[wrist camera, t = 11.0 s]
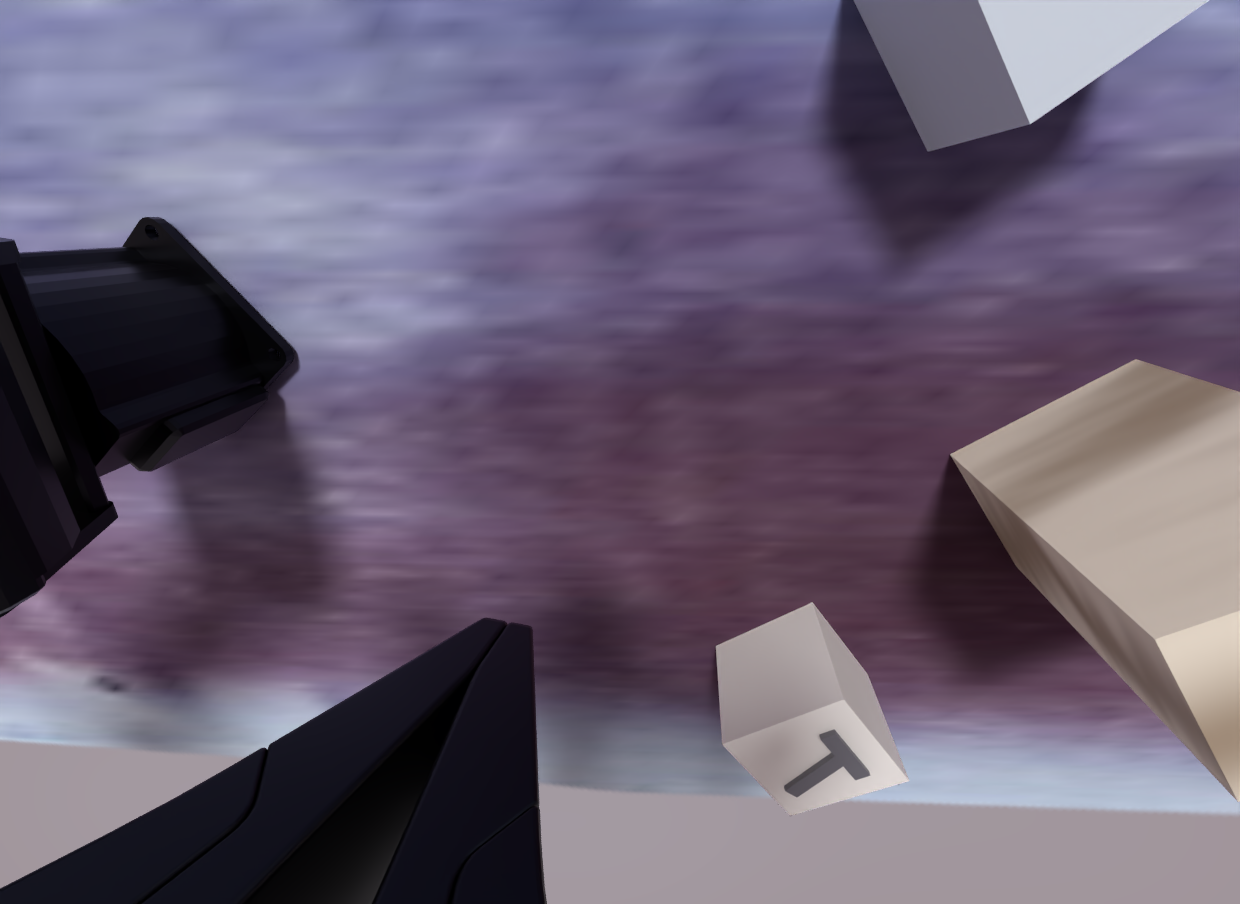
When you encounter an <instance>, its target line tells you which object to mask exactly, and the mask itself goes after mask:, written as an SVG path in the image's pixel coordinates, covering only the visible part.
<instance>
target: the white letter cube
mask: <svg viewBox="0 0 1240 904" xmlns="http://www.w3.org/2000/svg"><path fill="white" fill-rule="evenodd" d="M1208 1H1209V0H854V2H855V5H856V7H857V9H858V11H859V13H860V15H861V17H862V19H863V21H864V23H865V25H866V27H867V29H868V31H869V33H870V35H871V37H872V39H873V41H874V43H875V45H876V47H877V49H878V51H879V54H880V56H881V58H882V60H883V62H884V64H885V66H886V68H887V70H888V72H889V74H890V76H891V78H892V80H893V82H894V84H895V86H896V88H897V90H898V92H899V94H900V96H901V98H902V100H903V103H904V105H905V107H906V109H907V111H908V113H909V115H910V117H911V119H912V121H913V123H914V125H915V127H916V129H917V131H918V133H919V135H920V137H921V139H922V141H923V143H924V145H925V147H926V149H927V152H929V151H933V150H937V149H941V148H944V147H948V146H952V145H955V144H959V143H963V142H967V141H970V140H974V139H978V138H981V137H985V136H989V135H993V134H996V133H1000V132H1004V131H1007V130H1011V129H1015V128H1019V127H1022V126H1026V125H1030V124H1032V123H1033V122H1034V121H1036V120H1037V119H1039V118H1040V117H1042V116H1043V115H1045V114H1046V113H1047V112H1049V111H1050V110H1052V109H1053V108H1055V107H1056V106H1057V105H1059V104H1060V103H1062V102H1063V101H1065V100H1066V99H1068V98H1069V97H1070V96H1072V95H1073V94H1075V93H1076V92H1078V91H1079V90H1081V89H1082V88H1083V87H1085V86H1086V85H1088V84H1089V83H1091V82H1092V81H1094V80H1095V79H1096V78H1098V77H1099V76H1101V75H1102V74H1104V73H1105V72H1107V71H1108V70H1109V69H1111V68H1112V67H1114V66H1115V65H1117V64H1118V63H1120V62H1121V61H1122V60H1124V59H1125V58H1127V57H1128V56H1130V55H1131V54H1133V53H1134V52H1135V51H1137V50H1138V49H1140V48H1141V47H1143V46H1144V45H1145V44H1147V43H1148V42H1150V41H1151V40H1153V39H1154V38H1156V37H1157V36H1158V35H1160V34H1161V33H1163V32H1164V31H1166V30H1167V29H1169V28H1170V27H1171V26H1173V25H1174V24H1176V23H1177V22H1179V21H1180V20H1182V19H1183V18H1184V17H1186V16H1187V15H1189V14H1190V13H1192V12H1193V11H1195V10H1196V9H1197V8H1199V7H1200V6H1202V5H1203V4H1205V3H1206V2H1208Z"/></svg>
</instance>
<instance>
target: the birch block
mask: <svg viewBox="0 0 1240 904" xmlns="http://www.w3.org/2000/svg"><path fill="white" fill-rule="evenodd" d="M950 455H951V457H952V459H953V461H954V462H955V464H956V466H957V467H958V469H959V471H960V472H961V474H962V476H963V477H964V479H965V481H966V483H967V484H968V486H969V488H970V489H971V491H972V493H973V494H974V496H975V498H976V499H977V501H978V503H979V504H980V506H981V508H982V510H983V511H984V513H985V515H986V516H987V518H988V520H989V521H990V523H991V525H992V526H993V528H994V530H995V532H996V533H997V535H998V537H999V538H1000V540H1001V542H1002V543H1003V545H1004V547H1005V548H1006V550H1007V552H1008V554H1009V555H1010V557H1011V559H1012V560H1013V562H1014V564H1015V565H1016V567H1017V568H1018V569H1019V570H1020V571H1021V572H1022V573H1023V574H1024V575H1025V576H1026V577H1027V578H1028V579H1029V581H1030V582H1031V583H1032V584H1033V585H1034V586H1035V587H1036V588H1037V589H1038V590H1039V591H1040V592H1041V593H1042V594H1043V595H1044V596H1045V597H1046V599H1047V600H1048V601H1049V602H1050V603H1051V604H1052V605H1053V606H1054V607H1055V608H1056V609H1057V610H1058V611H1059V612H1060V613H1061V614H1062V616H1063V617H1064V618H1065V619H1066V620H1067V621H1068V622H1069V623H1070V624H1071V625H1072V626H1073V627H1074V628H1075V629H1076V630H1077V631H1078V632H1079V634H1080V635H1081V636H1082V637H1083V638H1084V639H1085V640H1086V641H1087V642H1088V643H1089V644H1090V645H1091V646H1092V647H1093V648H1094V649H1095V651H1096V652H1097V653H1098V654H1099V655H1100V656H1101V657H1102V658H1103V659H1104V660H1105V661H1106V662H1107V663H1108V664H1109V665H1110V666H1111V667H1112V669H1113V670H1114V671H1115V672H1116V673H1117V674H1118V675H1119V676H1120V677H1121V678H1122V679H1123V680H1124V681H1125V682H1126V683H1127V684H1128V686H1129V687H1130V688H1131V689H1132V690H1133V691H1134V692H1135V693H1136V694H1137V695H1138V696H1139V697H1140V698H1141V699H1142V700H1143V701H1144V702H1145V704H1146V705H1147V706H1148V707H1149V708H1150V709H1151V710H1152V711H1153V712H1154V713H1155V714H1156V715H1157V716H1158V717H1159V718H1160V719H1161V721H1162V722H1163V723H1164V724H1165V725H1166V726H1167V727H1168V728H1169V729H1170V730H1171V731H1172V732H1173V733H1174V734H1175V735H1176V736H1177V737H1178V739H1179V740H1180V741H1181V742H1182V743H1183V744H1184V745H1185V746H1186V747H1187V748H1188V749H1189V750H1190V751H1191V752H1192V753H1193V754H1194V756H1195V757H1196V758H1197V759H1198V760H1199V761H1200V762H1201V763H1202V764H1203V765H1204V766H1205V767H1206V768H1207V769H1208V770H1209V771H1210V772H1211V774H1212V775H1213V776H1214V777H1215V778H1216V779H1217V780H1218V781H1219V782H1220V783H1221V784H1222V785H1223V786H1224V787H1225V788H1226V789H1227V791H1228V792H1229V793H1230V794H1231V795H1232V796H1233V797H1234V798H1235V799H1236V800H1237V801H1238V802H1239V801H1240V392H1238V391H1234V390H1231V389H1228V388H1225V387H1222V386H1219V385H1216V384H1212V383H1209V382H1206V381H1203V380H1200V379H1197V378H1193V377H1190V376H1187V375H1184V374H1181V373H1178V372H1174V371H1171V370H1168V369H1165V368H1162V367H1159V366H1155V365H1152V364H1149V363H1146V362H1143V361H1140V360H1136V359H1135V360H1133V361H1131V362H1130V363H1128V364H1126V365H1124V366H1122V367H1120V368H1118V369H1116V370H1114V371H1112V372H1110V373H1108V374H1106V375H1104V376H1102V377H1100V378H1098V379H1096V380H1094V381H1092V382H1090V383H1089V384H1087V385H1085V386H1083V387H1081V388H1079V389H1077V390H1075V391H1073V392H1071V393H1069V394H1067V395H1065V396H1063V397H1061V398H1059V399H1057V400H1055V401H1053V402H1051V403H1049V404H1048V405H1046V406H1044V407H1042V408H1040V409H1038V410H1036V411H1034V412H1032V413H1030V414H1028V415H1026V416H1024V417H1022V418H1020V419H1018V420H1016V421H1014V422H1012V423H1010V424H1009V425H1007V426H1005V427H1003V428H1001V429H999V430H997V431H995V432H993V433H991V434H989V435H987V436H985V437H983V438H981V439H979V440H977V441H975V442H973V443H971V444H969V445H968V446H966V447H964V448H962V449H960V450H958V451H956V452H954V453H952V454H950Z"/></svg>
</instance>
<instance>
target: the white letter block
mask: <svg viewBox="0 0 1240 904" xmlns="http://www.w3.org/2000/svg"><path fill="white" fill-rule="evenodd" d="M716 658H717V673H718V689H719V704H720V719H721V735H722V745H723V746H724V747H725V748H726V749H727V750H728V751H729V752H730V753H731V754H732V755H733V756H734V758H735V759H736V760H737V761H738V762H739V763H740V764H741V765H742V766H743V767H744V768H745V769H746V770H747V771H748V772H749V773H750V774H751V775H752V777H753V778H754V779H755V780H756V781H757V782H758V783H759V784H760V785H761V786H762V787H763V788H764V789H765V790H766V791H767V792H768V793H769V795H770V796H771V797H772V798H773V799H774V800H775V801H776V802H777V803H778V804H779V805H780V806H781V807H782V808H783V809H784V810H785V811H786V812H787V814H788V815H789V816H792V815H796V814H799V813H802V812H806V811H809V810H813V809H816V808H819V807H822V806H826V805H829V804H833V803H836V802H840V801H843V800H846V799H850V798H853V797H857V796H860V795H863V794H867V793H870V792H874V791H877V790H880V789H884V788H887V787H891V786H894V785H897V784H901V783H904V782H907V781H909V779H908V776H907V774H906V771H905V768H904V766H903V763H902V761H901V758H900V756H899V753H898V751H897V748H896V746H895V743H894V740H893V738H892V735H891V733H890V730H889V728H888V725H887V723H886V720H885V718H884V715H883V712H882V710H881V707H880V705H879V702H878V700H877V697H876V695H875V692H874V690H873V687H872V684H871V682H870V679H869V677H868V674H867V673H866V672H865V670H864V669H863V668H862V666H861V665H860V664H859V662H858V661H857V660H856V658H855V657H854V656H853V655H852V653H851V652H850V651H849V649H848V648H847V647H846V645H845V644H844V643H843V642H842V640H841V639H840V638H839V636H838V635H837V634H836V632H835V631H834V630H833V628H832V627H831V626H830V625H829V623H828V622H827V621H826V619H825V618H824V617H823V615H822V614H821V613H820V612H819V610H818V609H817V608H816V606H815V605H814V604H813V602H812V603H810V604H808V605H806V606H803V607H801V608H799V609H797V610H795V611H792V612H790V613H788V614H786V615H783V616H781V617H779V618H777V619H775V620H772V621H770V622H768V623H766V624H764V625H761V626H759V627H757V628H755V629H752V630H750V631H748V632H746V633H744V634H741V635H739V636H737V637H735V638H733V639H730V640H728V641H726V642H724V643H721V644H719V645H717V646H716Z"/></svg>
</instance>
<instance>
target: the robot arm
mask: <svg viewBox="0 0 1240 904" xmlns="http://www.w3.org/2000/svg"><path fill="white" fill-rule="evenodd" d="M155 229H156V230H157V231H158V234H159V236H158V235H157V234H156V230H155ZM275 349H276V350H277V351H278V352H279V354H280V357H281V358H280V357H278V356H277V354H276V351H275ZM293 359H294V354H293V351H292V349H291V347H290V346H289V345H288V344H287V343H286V342H285V341H284V340H283V339H282V338H281V337H280V336H279V335H278V334H277V333H276V332H275V331H274V330H273V329H272V328H271V327H270V325H269V324H268V323H267V322H266V321H265V320H264V319H263V318H262V317H261V316H260V315H259V314H258V313H257V312H256V311H255V310H254V309H253V308H252V307H251V306H250V305H249V304H248V303H247V302H246V301H245V300H244V299H243V298H242V297H241V296H240V295H239V294H238V293H237V292H236V291H235V290H234V289H233V288H232V287H231V286H230V285H229V284H228V283H227V282H226V281H225V280H224V279H223V278H222V277H221V276H220V275H219V274H218V273H217V272H216V271H215V270H214V269H213V268H212V267H211V266H210V264H209V263H208V262H207V261H206V260H205V259H204V258H203V257H202V256H201V255H200V254H199V253H198V252H197V251H196V250H195V249H194V248H193V247H192V246H191V245H190V244H189V243H188V242H187V241H186V240H185V239H184V238H183V237H182V236H181V235H180V234H179V233H178V232H177V231H176V230H175V229H174V228H173V227H172V226H171V225H170V224H169V223H168V222H167V221H165V220H164V219H162V218H159V217H145V218H142V219H141V220H140V221H139V222H138V224H137V225H136V227H135V228H134V230H133V231H132V233H131V234H130V236H129V237H128V239H127V240H126V242H125V243H124V245H123V247H117V248H98V249H79V250H60V251H41V252H22V253H19V251H18V249H17V246H16V243H15V241H14V240H12V239H6V238H0V617H2V616H4V615H6V614H7V613H8V612H10V611H11V610H12V609H14V608H15V607H16V606H18V605H19V604H20V603H22V602H24V601H25V600H27V599H29V598H30V597H32V596H34V595H35V594H36V593H38V592H39V591H40V590H41V589H42V588H43V587H44V586H45V584H46V581H47V580H48V579H49V578H50V577H51V576H52V575H54V574H55V573H56V572H57V571H58V570H59V569H60V568H62V567H63V566H64V565H65V564H66V563H67V562H68V561H69V560H71V559H72V558H73V557H74V556H75V555H76V554H77V553H79V552H80V551H81V550H82V549H83V548H84V547H85V546H86V545H88V544H89V543H90V542H91V541H92V540H93V539H94V538H95V537H97V536H98V535H99V534H100V533H101V532H102V531H103V530H105V529H106V528H107V527H108V526H109V525H110V524H111V523H112V522H114V521H115V520H116V519H117V518H118V515H117V512H116V509H115V507H114V504H113V502H111V501H108V499H107V496H106V493H105V491H104V488H103V485H102V483H101V480H100V478H99V477H100V476H102V475H105V474H107V473H109V472H111V471H114V470H116V469H118V468H121V467H123V466H125V465H127V464H131V465H133V466H134V467H135V468H136V469H137V470H138V471H150V472H151V471H153V470H155V469H157V468H159V467H162V466H164V465H166V464H168V463H170V462H172V461H174V460H176V459H178V458H181V457H183V456H185V455H187V454H189V453H191V452H193V451H195V450H198V449H200V448H202V447H204V446H206V445H208V444H210V443H212V442H214V441H217V440H219V439H221V438H223V437H225V436H227V435H229V434H231V433H233V432H236V431H237V430H239V429H240V428H241V427H242V426H243V425H244V423H245V422H246V421H247V420H248V419H249V418H250V417H251V416H252V415H253V414H254V413H255V412H256V411H257V410H258V409H259V408H260V407H261V406H262V405H263V404H264V403H265V402H266V401H267V400H268V391H266V389H267V388H268V387H269V386H270V385H271V384H272V383H273V382H274V380H275V379H276V378H277V377H278V376H279V375H280V374H281V373H282V372H283V371H284V370H285V369H286V368H287V367H288V366H289V365H290V364H291V363H292V361H293ZM0 904H547V901H546V894H545V887H544V873H543V860H542V846H541V825H540V809H539V784H538V758H537V731H536V705H535V679H534V652H533V630H532V627H530V626H528V625H522V624H517V623H509V624H507V623H506V622H505V621H502V620H496V619H491V618H483V619H481V620H479V621H477V622H476V623H474V624H472V625H470V626H469V627H467V628H465V629H464V630H462V631H460V632H459V633H457V634H455V635H454V636H452V637H450V638H449V639H447V640H445V641H443V642H442V643H440V644H438V645H437V646H435V647H433V648H432V649H430V650H428V651H427V652H425V653H423V654H421V655H420V656H418V657H416V658H415V659H413V660H411V661H410V662H408V663H406V664H405V665H403V666H401V667H400V668H398V669H396V670H394V671H393V672H391V673H389V674H388V675H386V676H384V677H383V678H381V679H379V680H378V681H376V682H374V683H372V684H371V685H369V686H367V687H366V688H364V689H362V690H361V691H359V692H357V693H356V694H354V695H352V696H351V697H349V698H347V699H345V700H344V701H342V702H340V703H339V704H337V705H335V706H334V707H332V708H330V709H329V710H327V711H325V712H323V713H322V714H320V715H318V716H317V717H315V718H313V719H312V720H310V721H308V722H307V723H305V724H303V725H302V726H300V727H298V728H296V729H295V730H293V731H291V732H290V733H288V734H286V735H285V736H283V737H281V738H280V739H278V740H276V741H274V742H273V743H271V744H270V745H269V747H268V750H267V749H266V748H261V749H259V750H257V751H256V752H254V753H252V754H251V755H249V756H247V757H246V758H244V759H242V760H241V761H239V762H237V763H235V764H234V765H232V766H230V767H229V768H227V769H225V770H223V771H222V772H220V773H218V774H216V775H215V776H213V777H211V778H209V779H208V780H206V781H204V782H202V783H200V784H199V785H197V786H195V787H193V788H192V789H190V790H188V791H186V792H185V793H183V794H181V795H179V796H178V797H176V798H174V799H172V800H170V801H168V802H167V803H165V804H163V805H161V806H159V807H157V808H155V809H153V810H151V811H150V812H148V813H146V814H144V815H142V816H140V817H138V818H136V819H134V820H132V821H131V822H129V823H127V824H125V825H123V826H121V827H119V828H117V829H115V830H114V831H112V832H110V833H108V834H106V835H104V836H102V837H100V838H98V839H96V840H94V841H92V842H90V843H88V844H86V845H85V846H83V847H81V848H79V849H77V850H75V851H73V852H71V853H69V854H67V855H65V856H63V857H61V858H59V859H57V860H56V861H53V862H51V863H49V864H47V865H45V866H43V867H42V868H40V869H38V870H36V871H34V872H32V873H30V874H28V875H26V876H24V877H22V878H20V879H18V880H16V881H14V882H12V883H10V884H8V885H6V886H4V887H2V888H0Z"/></svg>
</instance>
